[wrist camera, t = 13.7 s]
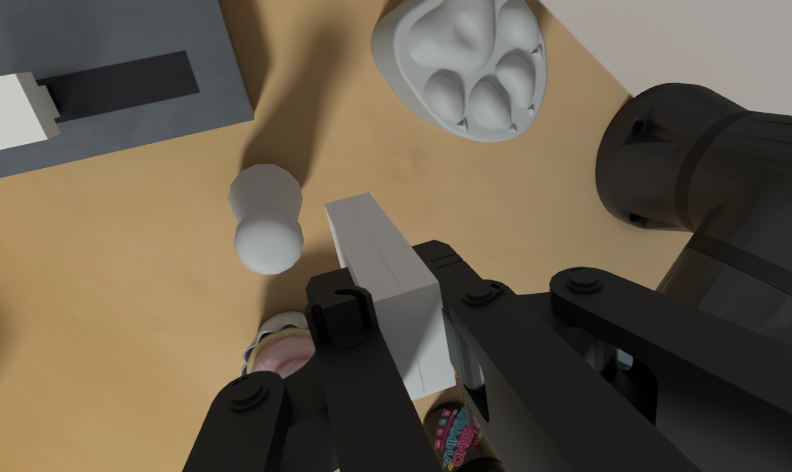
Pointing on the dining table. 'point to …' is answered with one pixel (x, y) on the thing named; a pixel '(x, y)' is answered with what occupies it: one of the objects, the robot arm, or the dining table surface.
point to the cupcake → (280, 345)
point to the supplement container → (460, 441)
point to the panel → (121, 73)
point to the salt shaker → (267, 218)
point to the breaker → (25, 111)
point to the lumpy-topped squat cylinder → (465, 64)
